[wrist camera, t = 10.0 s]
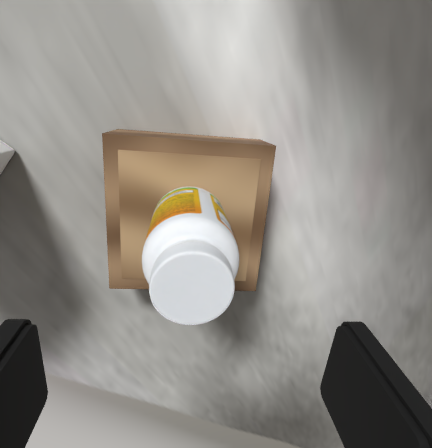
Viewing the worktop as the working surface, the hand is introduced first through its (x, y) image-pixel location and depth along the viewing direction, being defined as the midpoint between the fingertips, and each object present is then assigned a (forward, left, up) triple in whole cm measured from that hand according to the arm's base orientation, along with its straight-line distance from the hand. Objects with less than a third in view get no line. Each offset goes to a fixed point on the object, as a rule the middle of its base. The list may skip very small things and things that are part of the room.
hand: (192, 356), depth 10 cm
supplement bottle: (0, 0, -14) cm, 14 cm away
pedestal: (+1, 0, -19) cm, 19 cm away
